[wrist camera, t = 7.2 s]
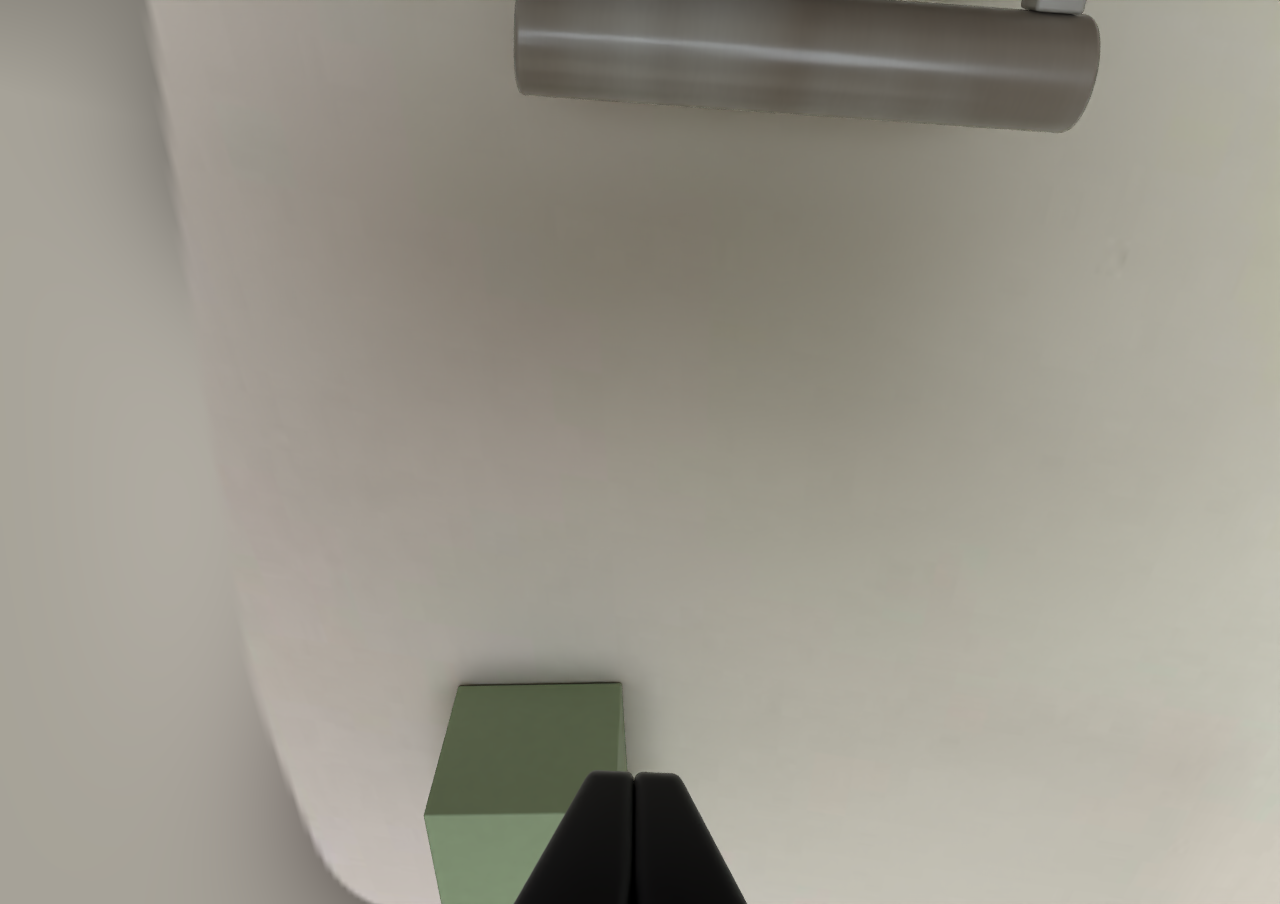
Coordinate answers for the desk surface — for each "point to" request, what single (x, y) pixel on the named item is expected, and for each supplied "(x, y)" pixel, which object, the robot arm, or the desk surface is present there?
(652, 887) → the robot arm
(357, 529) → the desk surface
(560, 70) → the drawer
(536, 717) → the block
